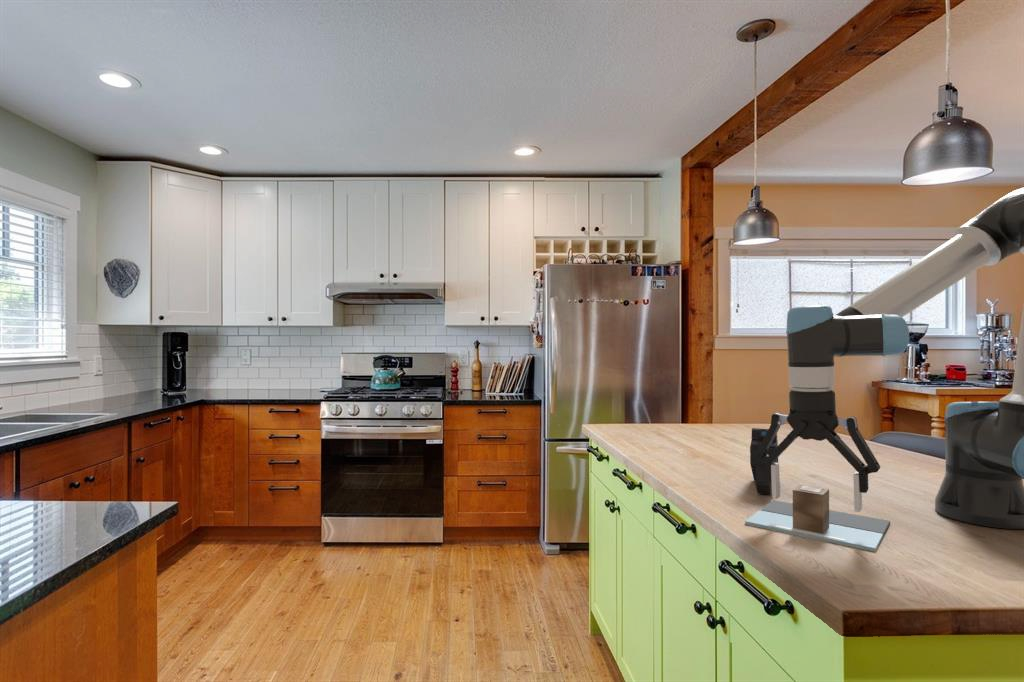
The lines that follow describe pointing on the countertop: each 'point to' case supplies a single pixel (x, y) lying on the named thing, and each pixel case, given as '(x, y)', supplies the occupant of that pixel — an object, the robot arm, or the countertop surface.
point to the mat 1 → (835, 518)
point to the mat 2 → (832, 534)
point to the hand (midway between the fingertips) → (815, 503)
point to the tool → (758, 465)
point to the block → (811, 508)
